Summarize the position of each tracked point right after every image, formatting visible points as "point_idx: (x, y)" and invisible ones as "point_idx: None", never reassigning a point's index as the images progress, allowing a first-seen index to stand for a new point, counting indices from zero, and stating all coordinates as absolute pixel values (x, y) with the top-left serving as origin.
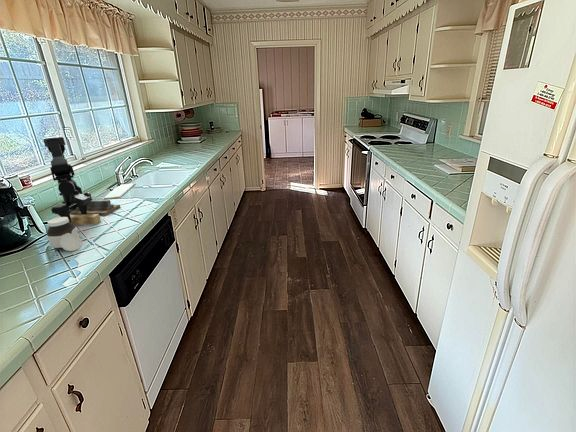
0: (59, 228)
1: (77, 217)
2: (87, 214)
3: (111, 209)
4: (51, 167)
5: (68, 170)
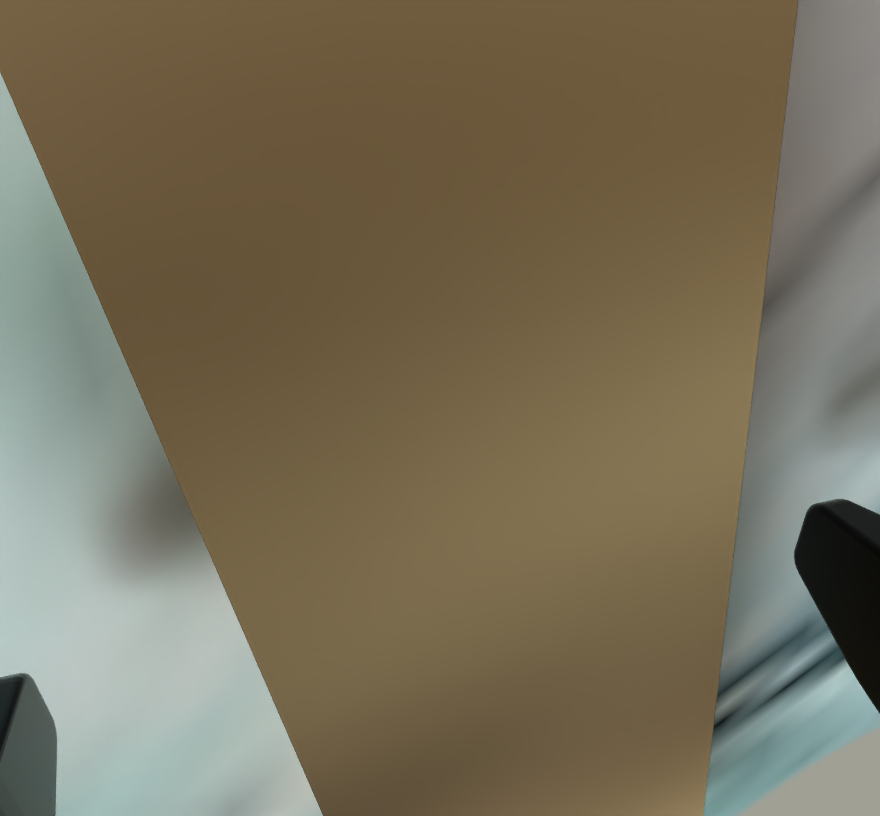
0: None
1: (723, 614)
2: (216, 467)
3: None
4: None
5: None
